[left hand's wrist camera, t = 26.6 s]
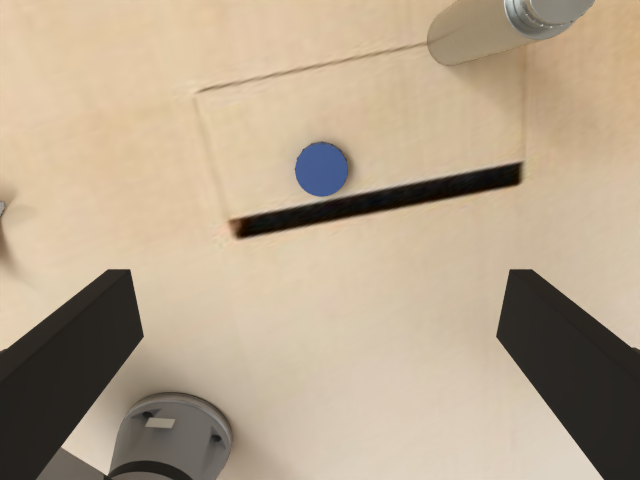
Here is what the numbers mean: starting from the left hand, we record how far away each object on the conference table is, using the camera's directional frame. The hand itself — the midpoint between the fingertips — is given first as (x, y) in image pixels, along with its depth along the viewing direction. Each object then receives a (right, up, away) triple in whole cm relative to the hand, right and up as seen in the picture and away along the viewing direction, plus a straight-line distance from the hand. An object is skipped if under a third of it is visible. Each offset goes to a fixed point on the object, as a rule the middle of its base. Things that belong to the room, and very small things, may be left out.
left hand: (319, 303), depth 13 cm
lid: (0, +9, +24) cm, 26 cm away
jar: (+12, +21, +21) cm, 33 cm away
